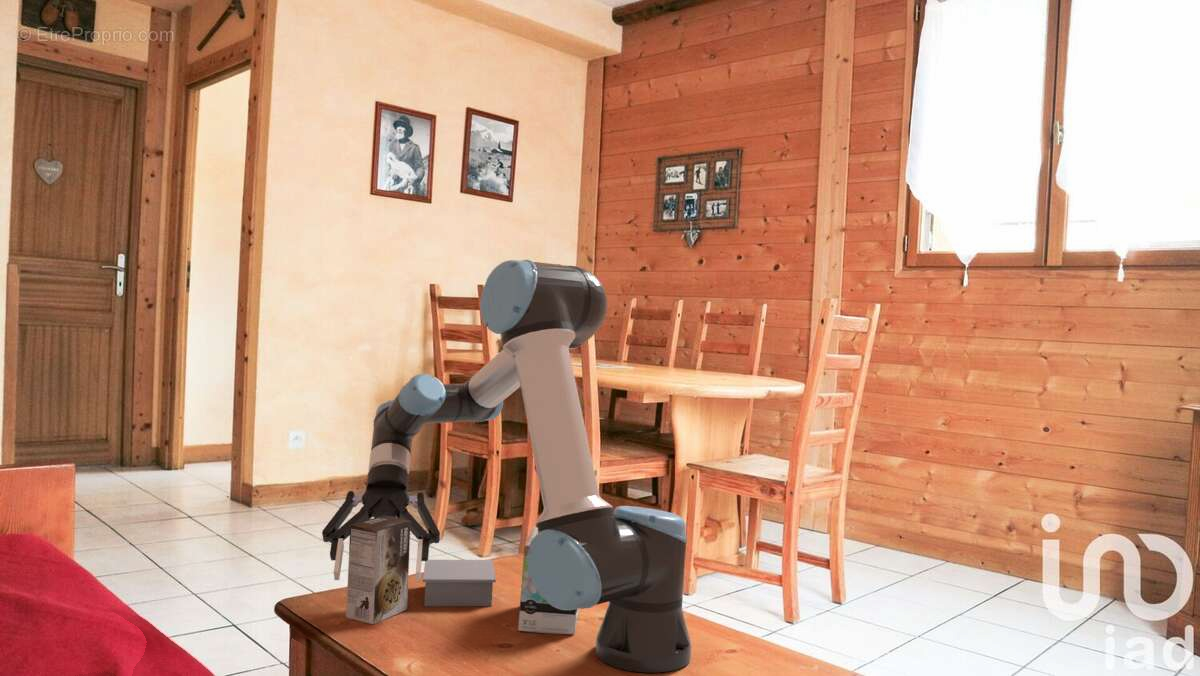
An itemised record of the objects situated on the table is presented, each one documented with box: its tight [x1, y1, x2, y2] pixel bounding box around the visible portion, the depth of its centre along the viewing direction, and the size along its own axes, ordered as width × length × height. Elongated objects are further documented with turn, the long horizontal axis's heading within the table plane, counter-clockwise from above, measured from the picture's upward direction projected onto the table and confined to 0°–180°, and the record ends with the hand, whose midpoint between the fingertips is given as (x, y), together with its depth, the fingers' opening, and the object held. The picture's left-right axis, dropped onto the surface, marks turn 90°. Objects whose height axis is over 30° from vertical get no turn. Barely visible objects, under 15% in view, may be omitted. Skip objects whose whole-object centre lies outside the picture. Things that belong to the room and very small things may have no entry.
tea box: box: [517, 526, 579, 635], centre depth 152 cm, size 15×10×15 cm, turn 179°
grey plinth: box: [422, 559, 497, 607], centre depth 162 cm, size 13×13×5 cm
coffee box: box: [345, 515, 411, 625], centre depth 150 cm, size 9×6×16 cm
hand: (377, 576), depth 148 cm, fingers open, 13 cm apart
